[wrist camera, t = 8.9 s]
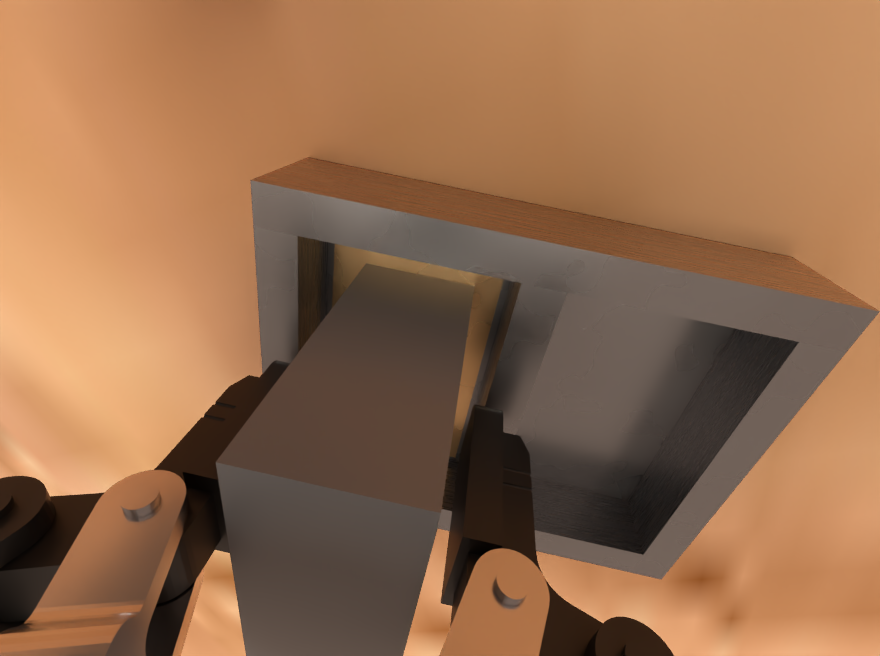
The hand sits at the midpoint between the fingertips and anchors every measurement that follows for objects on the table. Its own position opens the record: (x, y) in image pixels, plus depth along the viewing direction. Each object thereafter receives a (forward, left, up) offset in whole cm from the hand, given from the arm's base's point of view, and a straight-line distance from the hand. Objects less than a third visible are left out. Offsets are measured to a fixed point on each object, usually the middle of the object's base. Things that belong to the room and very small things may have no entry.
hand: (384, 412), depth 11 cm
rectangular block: (0, 0, -2) cm, 2 cm away
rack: (-3, 0, -4) cm, 5 cm away
